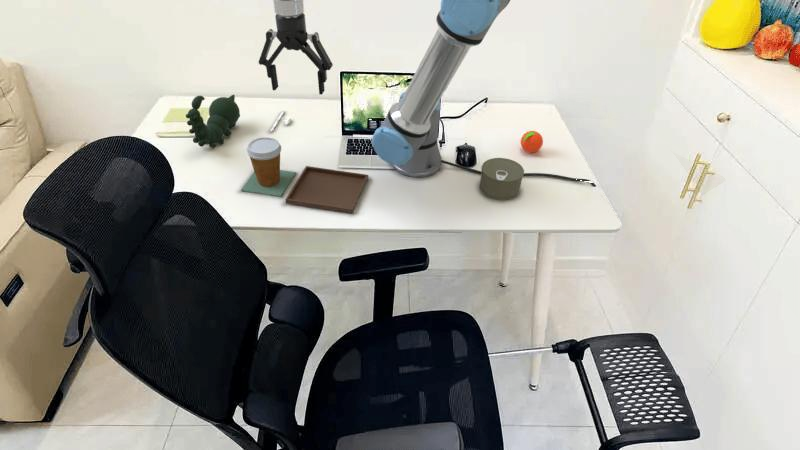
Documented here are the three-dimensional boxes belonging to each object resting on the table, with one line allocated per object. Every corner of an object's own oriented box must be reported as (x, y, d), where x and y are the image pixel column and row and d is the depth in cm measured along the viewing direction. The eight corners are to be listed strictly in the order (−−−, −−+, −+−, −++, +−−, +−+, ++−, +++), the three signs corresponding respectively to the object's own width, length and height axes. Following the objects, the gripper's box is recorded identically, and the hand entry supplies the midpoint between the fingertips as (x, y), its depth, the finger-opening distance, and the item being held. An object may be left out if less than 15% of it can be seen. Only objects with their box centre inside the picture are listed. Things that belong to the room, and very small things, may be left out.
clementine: (527, 160, 170) (532, 140, 165) (512, 150, 174) (515, 131, 170) (545, 152, 174) (549, 133, 169) (529, 143, 178) (533, 124, 173)
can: (522, 181, 161) (526, 161, 156) (517, 204, 152) (521, 184, 148) (482, 173, 163) (485, 154, 159) (475, 196, 154) (478, 176, 150)
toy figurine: (217, 161, 167) (251, 117, 184) (202, 109, 154) (240, 67, 171) (190, 157, 169) (226, 114, 186) (172, 104, 155) (213, 63, 173)
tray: (368, 178, 160) (368, 174, 159) (352, 214, 147) (352, 209, 146) (306, 170, 162) (306, 165, 161) (285, 203, 149) (285, 199, 148)
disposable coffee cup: (250, 174, 159) (244, 138, 151) (283, 169, 161) (278, 134, 153) (253, 192, 152) (247, 156, 144) (287, 187, 154) (283, 151, 147)
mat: (296, 173, 161) (295, 172, 160) (281, 197, 151) (280, 195, 151) (258, 168, 162) (257, 166, 162) (241, 191, 153) (240, 189, 153)
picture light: (282, 112, 189) (281, 106, 188) (294, 113, 189) (294, 108, 188) (270, 132, 179) (269, 126, 177) (282, 133, 178) (282, 127, 177)
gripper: (340, 11, 140) (344, 88, 153) (249, 5, 143) (261, 81, 156) (333, 21, 134) (338, 100, 147) (237, 14, 137) (251, 92, 150)
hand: (298, 90), depth 152 cm, fingers open, 13 cm apart
